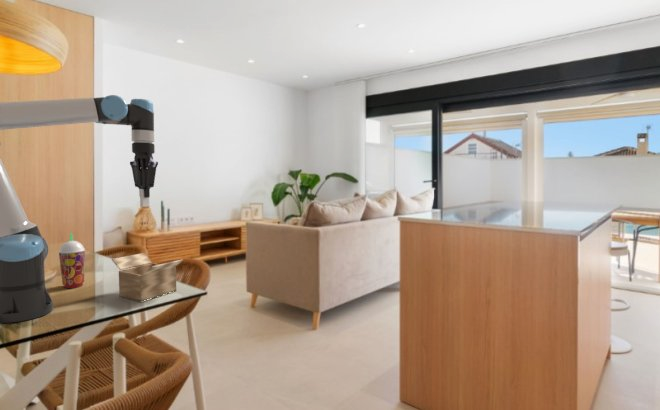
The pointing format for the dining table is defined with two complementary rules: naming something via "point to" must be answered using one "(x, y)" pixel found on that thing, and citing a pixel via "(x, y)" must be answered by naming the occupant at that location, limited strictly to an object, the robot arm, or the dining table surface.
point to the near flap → (163, 267)
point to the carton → (146, 282)
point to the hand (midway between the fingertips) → (144, 206)
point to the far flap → (131, 261)
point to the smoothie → (72, 263)
